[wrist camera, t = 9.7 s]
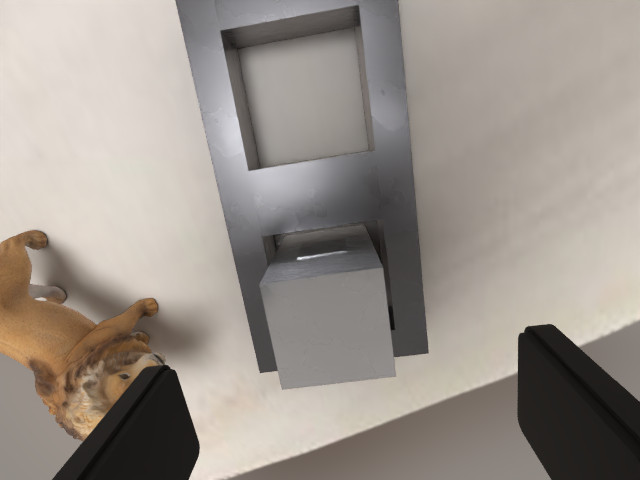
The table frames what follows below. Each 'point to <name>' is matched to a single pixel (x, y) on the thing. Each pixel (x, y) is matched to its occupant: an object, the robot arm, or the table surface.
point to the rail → (318, 174)
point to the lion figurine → (68, 342)
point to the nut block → (328, 309)
